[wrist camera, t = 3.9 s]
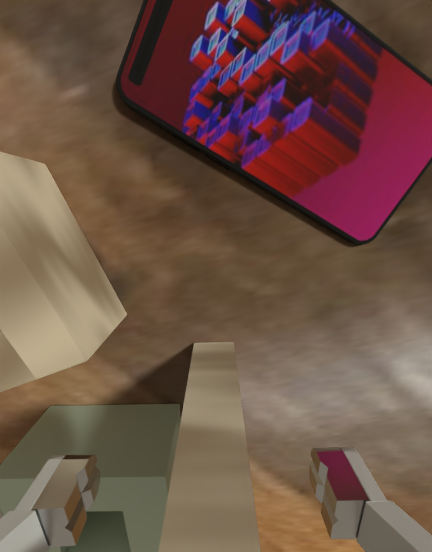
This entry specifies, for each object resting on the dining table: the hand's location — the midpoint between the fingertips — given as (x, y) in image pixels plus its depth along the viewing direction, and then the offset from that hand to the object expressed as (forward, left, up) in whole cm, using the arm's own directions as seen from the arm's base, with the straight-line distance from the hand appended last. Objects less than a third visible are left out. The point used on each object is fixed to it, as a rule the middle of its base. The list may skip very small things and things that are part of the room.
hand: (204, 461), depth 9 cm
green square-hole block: (-8, +7, -6) cm, 12 cm away
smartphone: (+14, -4, -7) cm, 16 cm away
